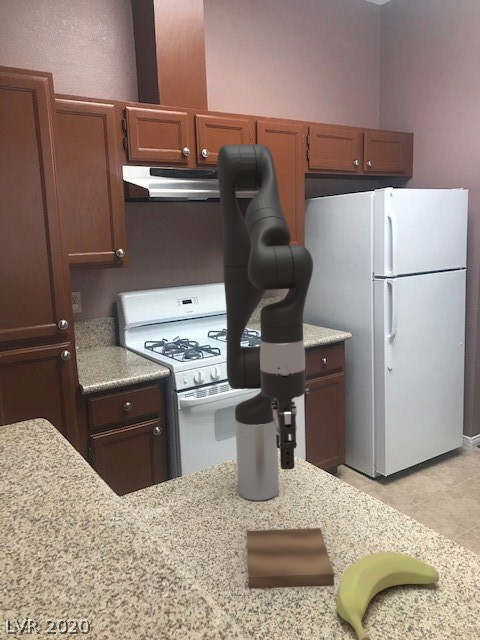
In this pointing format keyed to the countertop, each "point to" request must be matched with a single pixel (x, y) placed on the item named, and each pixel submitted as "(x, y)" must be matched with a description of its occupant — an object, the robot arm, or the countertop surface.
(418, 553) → the countertop surface
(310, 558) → the walnut board
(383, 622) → the countertop surface
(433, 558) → the countertop surface
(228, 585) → the countertop surface
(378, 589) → the banana
